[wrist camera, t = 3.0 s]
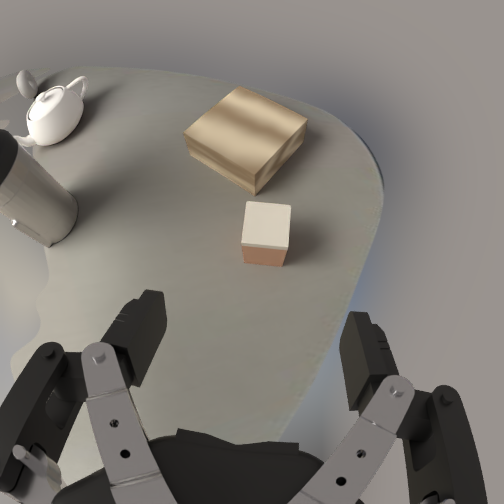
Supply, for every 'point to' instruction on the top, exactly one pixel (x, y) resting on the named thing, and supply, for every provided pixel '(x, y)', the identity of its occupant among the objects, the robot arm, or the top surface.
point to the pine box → (246, 138)
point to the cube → (265, 233)
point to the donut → (27, 84)
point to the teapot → (54, 115)
